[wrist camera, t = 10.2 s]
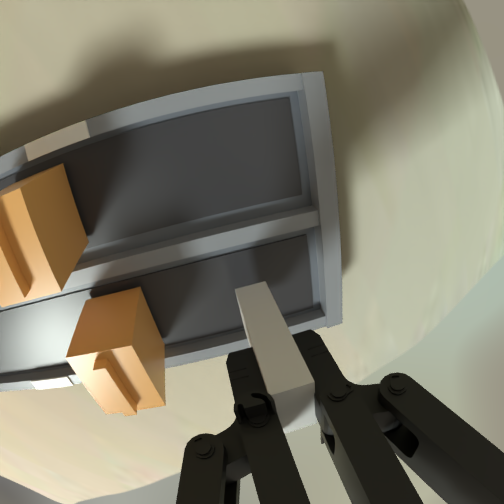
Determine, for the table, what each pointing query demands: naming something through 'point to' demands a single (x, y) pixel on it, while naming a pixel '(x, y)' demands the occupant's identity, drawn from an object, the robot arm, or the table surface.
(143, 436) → the table surface
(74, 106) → the table surface
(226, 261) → the switch bank
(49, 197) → the tab
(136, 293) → the tab
